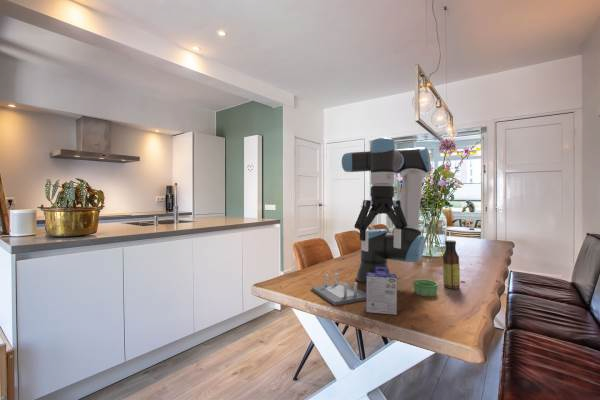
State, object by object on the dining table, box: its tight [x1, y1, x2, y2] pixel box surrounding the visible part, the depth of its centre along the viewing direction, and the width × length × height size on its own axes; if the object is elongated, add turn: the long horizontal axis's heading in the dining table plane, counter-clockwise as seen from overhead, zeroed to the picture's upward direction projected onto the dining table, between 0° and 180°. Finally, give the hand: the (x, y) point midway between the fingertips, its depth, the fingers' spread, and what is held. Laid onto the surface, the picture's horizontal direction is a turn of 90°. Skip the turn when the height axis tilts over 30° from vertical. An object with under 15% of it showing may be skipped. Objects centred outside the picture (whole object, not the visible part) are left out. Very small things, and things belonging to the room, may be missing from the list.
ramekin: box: [412, 278, 439, 298], centre depth 113 cm, size 9×9×4 cm
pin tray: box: [311, 272, 366, 306], centre depth 111 cm, size 16×18×6 cm
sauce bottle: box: [442, 239, 461, 290], centre depth 121 cm, size 7×6×20 cm
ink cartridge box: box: [365, 266, 398, 316], centre depth 95 cm, size 10×6×14 cm, turn 78°
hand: (381, 249), depth 95 cm, fingers open, 13 cm apart
